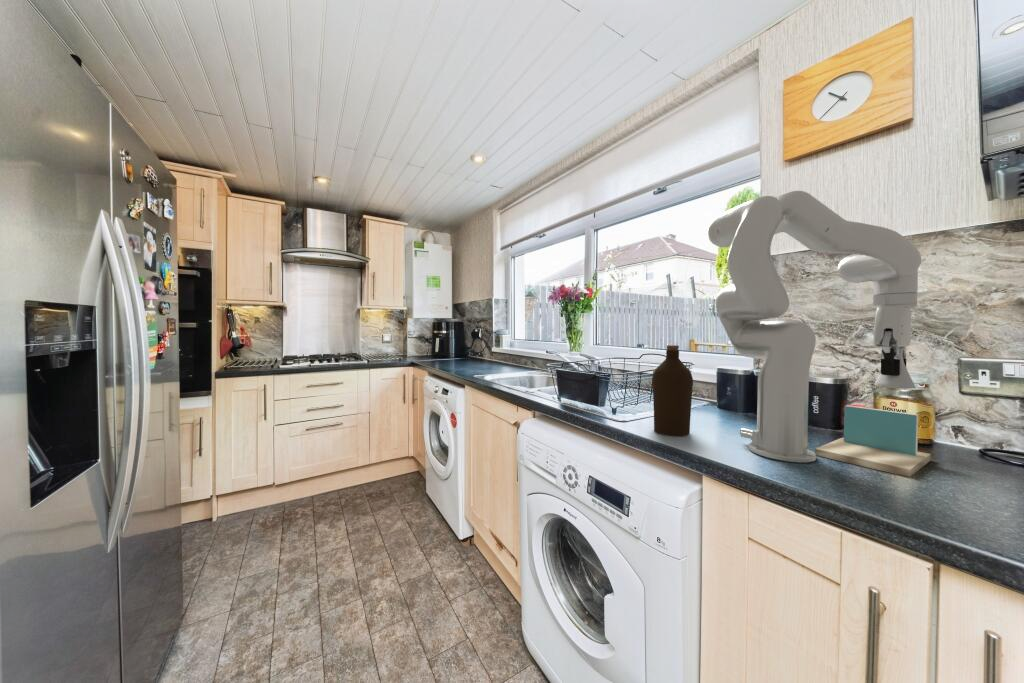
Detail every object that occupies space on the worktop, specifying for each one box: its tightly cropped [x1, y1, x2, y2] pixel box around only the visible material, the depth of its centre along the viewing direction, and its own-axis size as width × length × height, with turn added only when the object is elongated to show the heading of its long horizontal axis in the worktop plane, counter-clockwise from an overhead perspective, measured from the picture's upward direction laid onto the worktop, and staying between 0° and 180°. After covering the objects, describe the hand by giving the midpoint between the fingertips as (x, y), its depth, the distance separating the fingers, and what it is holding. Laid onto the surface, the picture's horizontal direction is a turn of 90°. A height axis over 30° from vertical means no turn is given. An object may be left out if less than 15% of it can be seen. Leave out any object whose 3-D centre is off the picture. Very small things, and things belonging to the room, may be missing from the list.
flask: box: [873, 348, 917, 390], centre depth 89 cm, size 7×7×10 cm
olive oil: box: [651, 344, 694, 437], centre depth 102 cm, size 11×11×25 cm
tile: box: [843, 405, 919, 456], centre depth 84 cm, size 12×2×9 cm, turn 32°
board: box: [814, 436, 931, 478], centre depth 81 cm, size 15×18×2 cm
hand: (893, 373), depth 89 cm, fingers closed on flask, 4 cm apart
